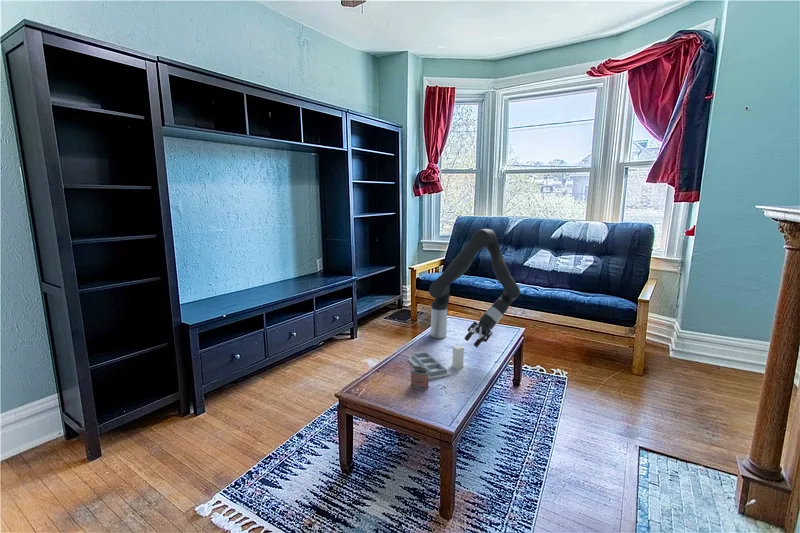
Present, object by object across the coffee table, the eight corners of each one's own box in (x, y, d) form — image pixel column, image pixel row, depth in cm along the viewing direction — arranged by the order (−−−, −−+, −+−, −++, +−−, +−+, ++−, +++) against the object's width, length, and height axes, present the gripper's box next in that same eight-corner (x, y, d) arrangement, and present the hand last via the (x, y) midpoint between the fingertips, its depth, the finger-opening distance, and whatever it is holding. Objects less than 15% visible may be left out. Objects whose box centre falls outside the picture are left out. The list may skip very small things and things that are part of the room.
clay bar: (452, 365, 191) (453, 346, 190) (459, 364, 193) (460, 345, 191) (455, 368, 188) (456, 349, 186) (463, 367, 190) (463, 347, 188)
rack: (408, 360, 197) (408, 354, 196) (429, 356, 201) (429, 351, 201) (427, 379, 177) (427, 373, 176) (450, 375, 181) (450, 368, 181)
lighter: (429, 386, 170) (429, 365, 169) (427, 390, 167) (427, 368, 165) (411, 383, 173) (412, 362, 171) (409, 387, 170) (409, 366, 168)
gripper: (478, 309, 198) (458, 333, 196) (495, 317, 185) (473, 343, 183) (487, 318, 201) (467, 342, 199) (504, 326, 188) (482, 352, 186)
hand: (470, 342), depth 191 cm, fingers open, 8 cm apart
